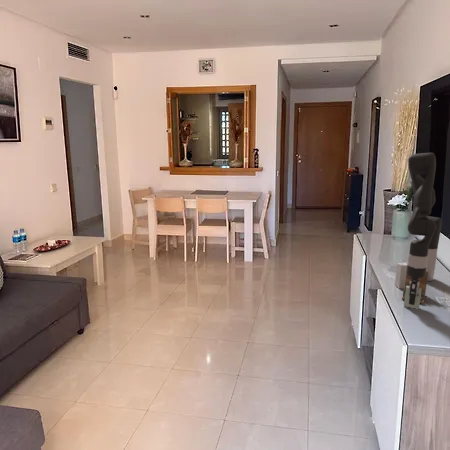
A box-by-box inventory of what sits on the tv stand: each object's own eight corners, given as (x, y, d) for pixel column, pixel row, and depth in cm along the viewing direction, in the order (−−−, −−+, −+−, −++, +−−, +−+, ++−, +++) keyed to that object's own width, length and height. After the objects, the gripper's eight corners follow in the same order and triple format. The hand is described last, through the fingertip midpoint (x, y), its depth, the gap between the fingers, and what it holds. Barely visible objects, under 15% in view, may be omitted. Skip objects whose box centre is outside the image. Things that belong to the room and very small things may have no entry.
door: (404, 304, 181) (406, 285, 179) (419, 307, 178) (421, 288, 176) (403, 307, 178) (405, 287, 176) (418, 310, 175) (421, 290, 173)
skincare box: (405, 285, 205) (408, 262, 202) (410, 288, 200) (413, 265, 198) (394, 285, 204) (396, 262, 201) (398, 288, 200) (401, 265, 197)
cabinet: (404, 291, 197) (407, 267, 194) (425, 295, 192) (428, 270, 190) (401, 300, 186) (404, 274, 183) (423, 304, 182) (427, 278, 179)
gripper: (408, 259, 182) (404, 295, 186) (405, 267, 170) (401, 306, 173) (427, 261, 179) (422, 298, 182) (425, 270, 166) (420, 309, 170)
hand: (412, 301), depth 178 cm, fingers open, 5 cm apart
